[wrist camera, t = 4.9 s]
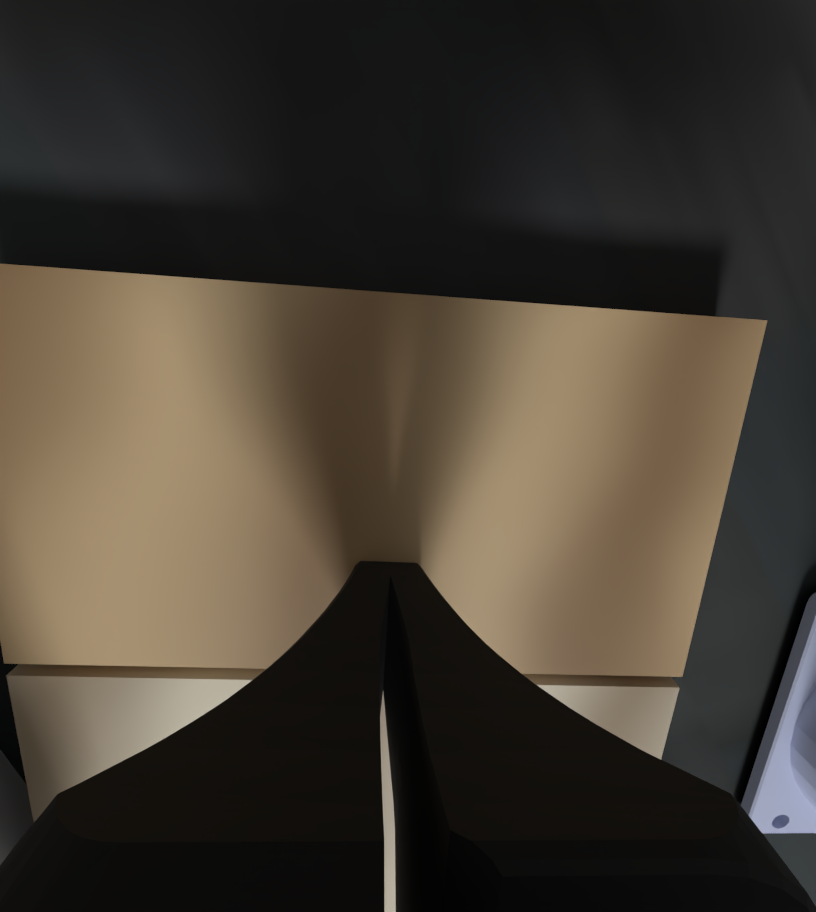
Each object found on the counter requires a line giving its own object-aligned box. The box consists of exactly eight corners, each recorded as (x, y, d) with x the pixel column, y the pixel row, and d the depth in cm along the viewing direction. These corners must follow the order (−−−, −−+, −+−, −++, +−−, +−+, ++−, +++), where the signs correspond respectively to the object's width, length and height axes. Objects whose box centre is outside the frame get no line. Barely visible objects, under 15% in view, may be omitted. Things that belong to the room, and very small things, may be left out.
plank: (710, 323, 10) (767, 320, 9) (644, 634, 12) (682, 676, 11) (11, 273, 9) (-63, 258, 8) (56, 619, 11) (3, 663, 10)
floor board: (642, 643, 12) (679, 688, 11) (586, 886, 15) (611, 951, 13) (57, 629, 11) (6, 675, 10) (96, 891, 14) (60, 963, 12)
